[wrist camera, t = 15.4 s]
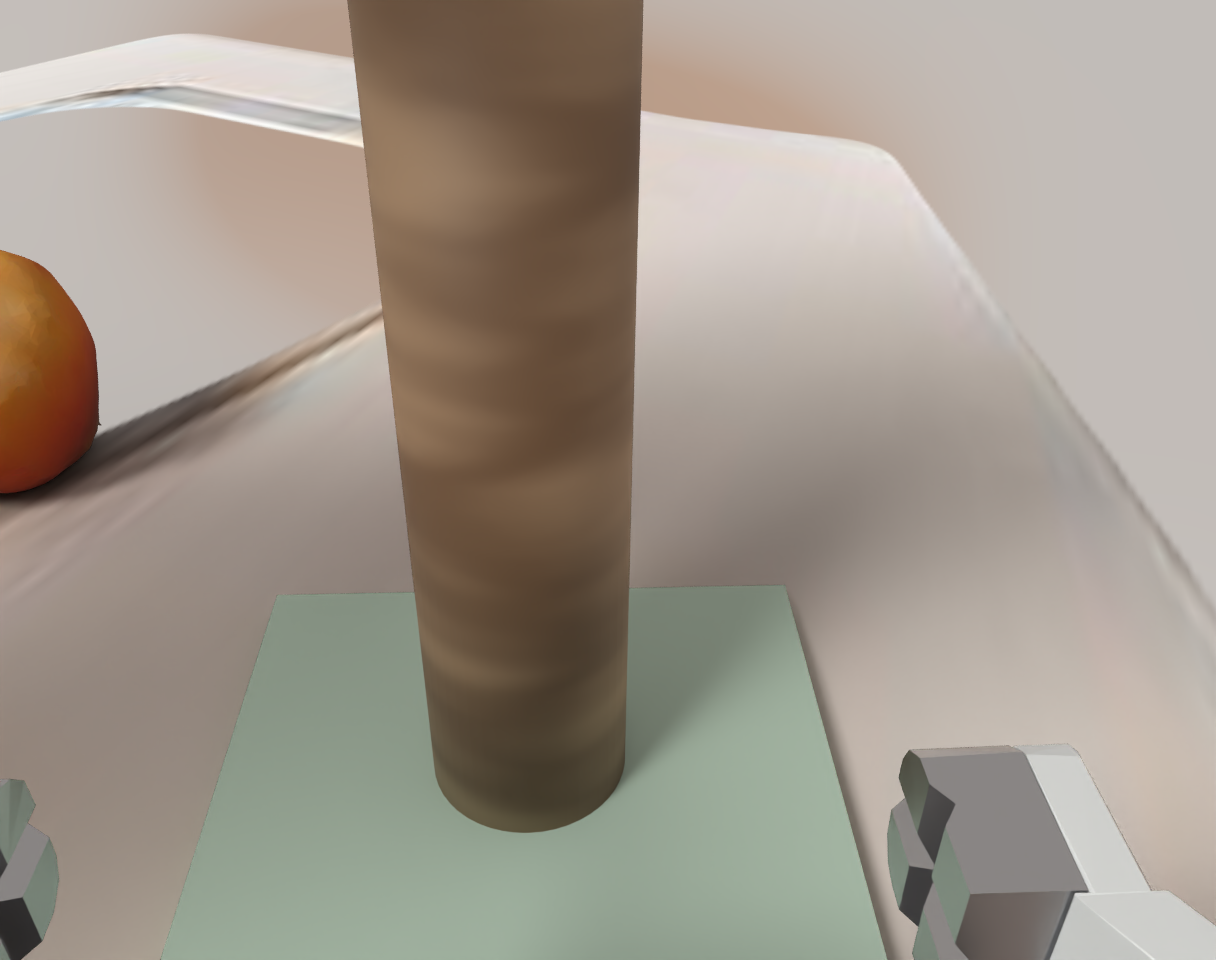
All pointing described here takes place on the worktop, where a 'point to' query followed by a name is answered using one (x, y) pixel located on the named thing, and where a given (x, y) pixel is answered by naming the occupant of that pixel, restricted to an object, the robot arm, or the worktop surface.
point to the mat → (540, 861)
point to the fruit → (42, 377)
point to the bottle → (511, 377)
